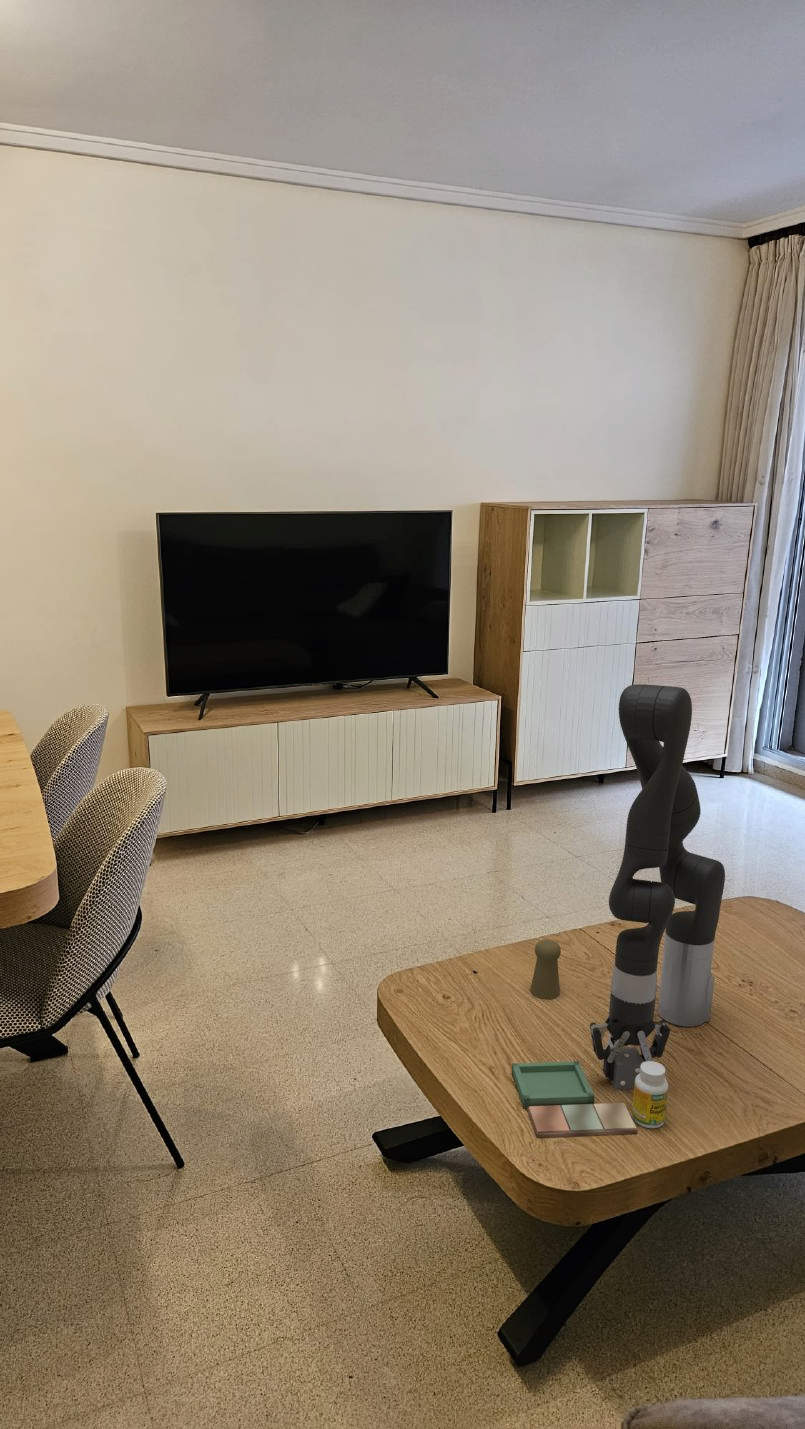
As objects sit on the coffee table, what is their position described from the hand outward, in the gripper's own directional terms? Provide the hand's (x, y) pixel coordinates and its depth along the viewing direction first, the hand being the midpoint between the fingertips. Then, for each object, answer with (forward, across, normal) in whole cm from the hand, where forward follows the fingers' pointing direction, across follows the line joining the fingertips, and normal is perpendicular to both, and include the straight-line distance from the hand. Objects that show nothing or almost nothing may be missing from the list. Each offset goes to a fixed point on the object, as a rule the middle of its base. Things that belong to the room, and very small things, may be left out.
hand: (625, 1076), depth 172 cm
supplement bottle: (+1, 0, +10) cm, 11 cm away
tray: (+1, +14, +2) cm, 14 cm away
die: (+1, 0, 0) cm, 1 cm away
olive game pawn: (+1, +7, -30) cm, 31 cm away
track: (+1, +11, +10) cm, 15 cm away
